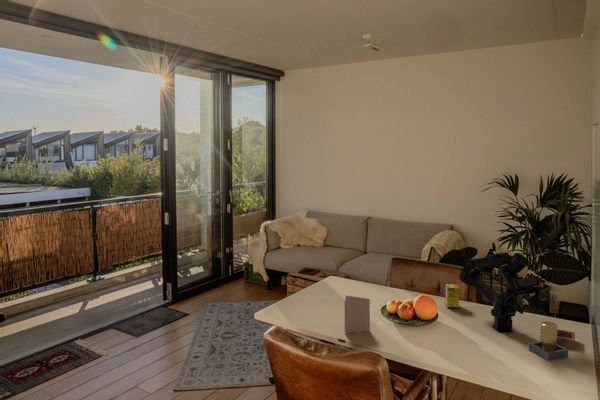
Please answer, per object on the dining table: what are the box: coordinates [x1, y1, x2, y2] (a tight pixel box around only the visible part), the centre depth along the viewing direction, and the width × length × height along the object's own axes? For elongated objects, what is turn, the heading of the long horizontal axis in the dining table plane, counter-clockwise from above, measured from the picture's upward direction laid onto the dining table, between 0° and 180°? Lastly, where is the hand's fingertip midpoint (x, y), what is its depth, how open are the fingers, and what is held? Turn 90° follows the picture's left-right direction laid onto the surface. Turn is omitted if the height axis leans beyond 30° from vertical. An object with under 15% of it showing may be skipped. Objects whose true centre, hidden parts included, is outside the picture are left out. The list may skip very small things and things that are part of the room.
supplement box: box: [444, 283, 460, 309], centre depth 222 cm, size 6×6×11 cm
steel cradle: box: [527, 340, 569, 362], centre depth 170 cm, size 10×10×3 cm
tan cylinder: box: [539, 320, 558, 352], centre depth 170 cm, size 6×6×11 cm
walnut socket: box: [556, 328, 576, 349], centre depth 180 cm, size 9×9×4 cm
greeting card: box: [343, 295, 371, 333], centre depth 194 cm, size 11×7×15 cm, turn 62°
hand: (531, 312), depth 177 cm, fingers open, 9 cm apart
